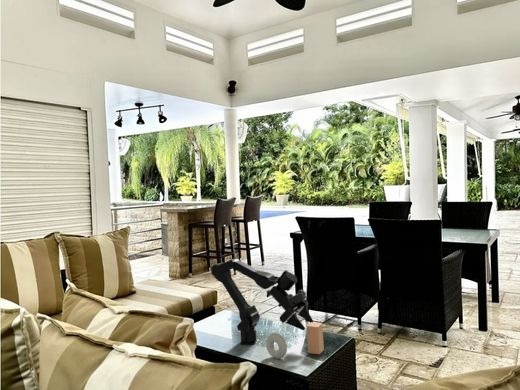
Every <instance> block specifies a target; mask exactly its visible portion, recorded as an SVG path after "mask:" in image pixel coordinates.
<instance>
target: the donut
mask: <svg viewBox="0 0 520 390" xmlns="http://www.w3.org/2000/svg"><path fill="white" fill-rule="evenodd" d="M284 338H285V337H283V336H282V335H281V334H279V333H278V332H272V333H270V334H269V335H268V336H267V338H266V340H265V347H266V350H267V353H268V354H269V355H270V356H271V357H272V358H274V359H279V360H281V359H282V358H284V357H285V356H286V354H287V351H288V346H287V342H286V340H285V339H284ZM275 343H276V344H277V346H278V349H277V348H276V346H275Z"/></svg>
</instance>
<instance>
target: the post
mask: <svg viewBox="0 0 520 390" xmlns="http://www.w3.org/2000/svg"><path fill="white" fill-rule="evenodd" d="M305 328H306V339H307V340H306V342H307V354H315V355H321V354H322V353H323V352H324V350H325V347H324V344H325V343H324V331H323V330H324V329H323V322H322V323H321V322H314V321H313V322H311V323H310V322H308V324H307V325H306V327H305Z"/></svg>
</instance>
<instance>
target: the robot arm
mask: <svg viewBox="0 0 520 390" xmlns="http://www.w3.org/2000/svg"><path fill="white" fill-rule="evenodd" d="M231 270H234V271H237V272H238V273H240V274H243V276H246V277H247V278H249V279H251V280H252V281H254V282H255V284H256V285H257V286H259V288H261V289H262V290H266V298H269V297H272V298H273V299H274V300H275V302H277V303H278V304H277V306H278V307H279V308H280V307H281V308H282V309H283V310H284V312H282V314H281V315H280V316H279V321H280V322H281V323H282V324H285V325H290V326H292V327H295V328H297V329H299V330H301V331H305V330H306V327H305V325H304V324H303V323H302V322H301V321H300V319H299V318H298V316H299V317H300V318H302V319H304V320H306V321H307V322H308V323H311V322H314V320H313V317H312V316H311V313H310V312H309V308H308V307H309V301H308V300H307V298H308V297H307V292H305V290H303V289H299V290H298V291H297V293H296V294H294V295H293V294H292V293H288V292H289V291H290V290H291V289H292V288H293V287H294V286H295V284H296V283H298V277H297V275H295V274H293V273H292V272H291V271H288V270H287V269H286V270H284V271H283V272H282V273H281V275H280V276H276V275H275V274H274V273H271V272H267V271H261V270H259V269H256V268H255V267H253V266H252V265H249V264H247V263H245V262H244V261H242V260H240V259H238V258H231V259H229V260H227V261H226V262H225V261H223V262H219V263H216V264H213V265H212V266H211V269H210V272H211V274H212V276H213V277H214V278H215V280H216V281H218V282H220V283H221V284H222V285H223V287H224V288H225V290H226V292H227V293H228V295H229V297H230V299H232V301H233V303H234V305H235V306H236V308H237V309H238V315H239V319H240V321H239V323H238V324H237V325H236V328H237V330H238V331H240V343H239V344H240V345H255V344H256V342H257V340H258V337H257V336H258V335H257V330H256V327H257V325H258V323H259V322H260V318H261V316H260V314H259V313H260V311H258V309H257V308H256V306H255V305H254V304H253V305H250V304H249V303H248V302H247V300H246V299H245V296H244V295H243V294H242V292H241V290H240V288H238V286H237V285H236V283H235V281H234V279H233V278H232V271H231Z"/></svg>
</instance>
